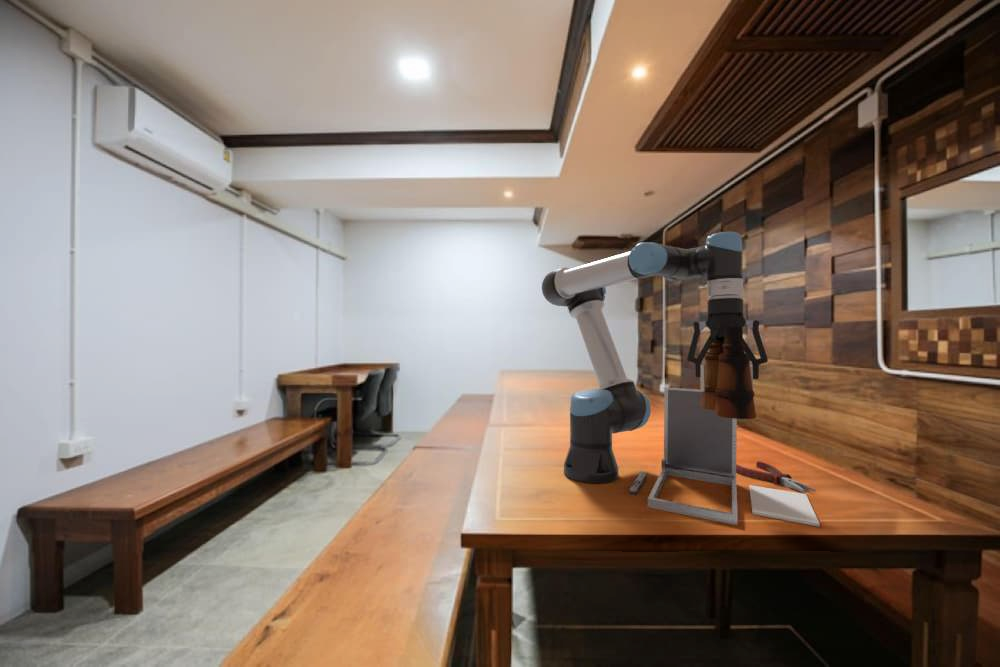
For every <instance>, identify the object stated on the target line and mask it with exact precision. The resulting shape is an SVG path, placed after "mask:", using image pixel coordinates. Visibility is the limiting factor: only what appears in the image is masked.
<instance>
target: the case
mask: <svg viewBox="0 0 1000 667" xmlns="http://www.w3.org/2000/svg"><path fill="white" fill-rule="evenodd" d="M663 400H664V402H663V403H664V406H663V407H664V408H663V412H664V413H663V414H664V415H663V416H664V417H663V419H664V420H663V421H664V422H663V458H662V459H661V471H660V472H659V474H658V477H657V479H656V481H655V483H654V484H653V487H652V489H651V491H650V493H649V495H648V497H647V508H649V507H650V509H655V510H660V511H664V512H668V513H669V512H670V513H674V514H680V515H684V516H690V517H693V518H694V517H695V518H697V519H698V518H699V519H704V520H709V521H714V522H717V523H718V522H719V523H722V524H727V525H734V526H738V491H737V490H738V489H737V473H736V464H737V445H738V444H737V434H738V432H737V430H738V427H737V425H738V424H737V423H738V419H734V418H726V417H720V416H717V415H715V414H714V413H715V410H709V409H704V408H701V401H702V392H701V389H693V388H681V387H680V388H679V387H678V388H677V387H664V398H663ZM667 476H670V477H677V478H683V479H690V480H695V481H701V482H706V483H714V484H720V485H726V486H731V512H728V511H725V510H724V511H723V510H722V511H721V510H717V509H714V508H713V509H711V508H708V507H702V506H697V505H691V504H687V503H682V502H676V501H673V500H671V501H670V500H667V499H666V500H665V499H660V498H658V496H659V494H660V491H661V489H662V486H663V484H664V482H665V481H666V478H667Z"/></svg>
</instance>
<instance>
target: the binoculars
mask: <svg viewBox="0 0 1000 667" xmlns="http://www.w3.org/2000/svg"><path fill="white" fill-rule="evenodd" d="M743 329H744V327H743V328H742V327H728V328H727V329H726V331H725V335H724V337H717V336H716V338H715V340H714V341H713V343H712V345H711V347H710V348H709V350H708V352H707V353H706V355H705V357H704V364H705V391H704V392H702V401H701V408H704V409H709V410H715V413H714V414H715V415H717V416H720V417H726V418H734V419H737V420H739V419H740V420H752V419H756V418H757V414H756V413H757V412H756V407H755V400H754V398H755V391H754V387H753V388H752V379H751V371H750V365H751V363H750V362H751V361H750V357H748V354H746V353H745V351H744V348H745V345H744V344H743V339H744V332H743V331H744V330H743ZM711 333H712V332H711V330H710V329H709V335H710V334H711Z"/></svg>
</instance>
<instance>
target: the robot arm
mask: <svg viewBox="0 0 1000 667" xmlns="http://www.w3.org/2000/svg"><path fill="white" fill-rule="evenodd" d="M743 253H744V250H743V242H742V235H741V234H740V233H738V232H737V231H721V232H717V233H712V234H710V235H708V236H707V238H706V242H705V245H702V246H701V245H700V246H698V247H693V248H682V247H677V246H672V245H671V246H670V245H666V244H662V243H657V242H654V241H649V242H647V241H645V242H643V241H642V242H639V243H637V244H636V245H635V246H634V247H632V249H631V250H630V251H626V252H623V253H621V254H616V255H613V256H610V257H607V258H606V257H605V258H603V259H600V260H597V261H596V260H595V261H592V262H590V263H586V264H583V265H580V266H576V267H573V268H569V267H560V268H559V269H558V268H557V269H555V270H552V271H550V272H548V273H547V275H545V276H544V278H543V280H542V283H541V292H542V295H543V297H544V298H545V299H546V301H547V302H548V303H550V304H551V305H555V306H557V307H567V310H568V313H569V316H570V317H571V318H573V319H576V321H577V324H578V327H579V330H580V333H581V336H582V339H583V342H584V344H585V348H586V350H587V353H588V356H589V359H590V362H591V364H592V368H593V370H594V374H595V377H596V380H597V383H598V385H599V387H598V388H593V389H584V390H583V389H582V390H579V391H577V392H574V393H573V394H572V396H571V398H570V406H569V442H570V443H569V448H568V451H567V454H566V456H565V460H564V462H563V475H564V476H566V477H568V478H569V479H572V480H573V481H574V480H575V481H577V482H581V483H588V484H590V483H591V484H604V483H606V484H607V483H610V482H614V481H615V480H617V479H618V478H619V466H618V464H617V460H616V457H615V453H614V450H613V434H618V433H623V432H628V431H629V432H632V431H634V430H637V429H641V428H642V427H644V426H646V424H647V423H648V422H649V418H650V416H651V412H652V406H651V401H650V399H649V397H648V396H647V395H646V393H644V392H642V391H641V390H637V387H636V385H635V382H634V380H632V379H630V378H628V376H627V375H626V372H625V370H624V367H623V364H622V361H621V359H620V356H619V354H618V351H617V348H616V345H615V344H614V343H615V342H614V340H613V338H612V335H611V332H610V329H609V327H608V324H607V322H606V318H605V316H604V314H603V311H602V310H603V309H604V305H605V303H604V301H605V300H606V299H605V298H606V294H607V292H606V288H607V287H611V286H614V285H618V284H624V283H627V282H631V281H636V280H641V279H646V278H651V277H657V276H658V277H663V278H664V279H665V280H666V281H682V280H688V279H694V278H700V277H706V280H707V281H706V283H707V284H706V286H707V287H706V288H707V295H706V296H707V298H708V301H707V318H706V320H705V321H700V322H699V321H695V322H693V335H692V340H691V342H690V346H689V347H690V348H689V351H688V354H687V357H686V360H687V362H691V363H693V364H694V365H695V377H696V378H700V390H701V392H704V391H705V363H702V362H703V361H704V360H705V355H706V353H707V352H709V348H710V347H711V345H712V343H713V341H714V340H715V338H716V336H717V337H724V335H725V331H726V329H727V328H728V327H742V328H743V329H744V327H745V326H747V327H748V329H749V330H752V335H753V338H754V342H755V346H756V349H757V350H758V353H759V358H756V356H755V355H754V353H753V351H752V350H751V348H750V346H749V345H748V343H747V342H746V340H745V338H743V344H744V345H745V348H744V353H745V354H748V357H750V362H751V364H750V371H751V379H752V388H753V389H754V380H759V377H760V376H759V372H760V371H759V369H760V368H759V366H760V365H762V364H766V363H768V361H769V360H768V356H767V354H766V353H767V352H766V350H765V346H764V343H763V341H762V337H761V334H760V332H759V328H760V327H759V326H760V321H759V320H757V319H755V320H746V318H745V317H744V299H743V298H742V297H743V295H744V279H743V278H744V276H743ZM705 327H707V329H708V330H709V331H710V330H711V332H712V333H711V334H710V333H709V336H708V338H707V340H706V342H705V343H704V345H703V347H702V348H701V350H700V352H699V354H698V356H697V357H695V354H696V351H697V347H698V343H699V340H700V335H701V331H703V330H704V328H705Z"/></svg>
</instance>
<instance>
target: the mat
mask: <svg viewBox="0 0 1000 667" xmlns="http://www.w3.org/2000/svg"><path fill="white" fill-rule="evenodd" d="M748 486H749V487H748V488H749V496H750V503H751V504H750V505H751V514H752V515H757V516H762V517H766V518H772V519H777V520H781V521H789V522H793V523H798V524H803V525H809V526H815V527H821V526H820V525H821V524H820V521H819V520H818V517H817V515H816V513H815V510H814V508H813V506H812V504H811V502H810V500H809V498H808V496H807V495H808V494H807V493H803V492H796V491H789V490H783V489H775V488H770V487H763V486H759V485H758V486H757V485H752V484H751V485H750V484H749V485H748Z"/></svg>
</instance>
